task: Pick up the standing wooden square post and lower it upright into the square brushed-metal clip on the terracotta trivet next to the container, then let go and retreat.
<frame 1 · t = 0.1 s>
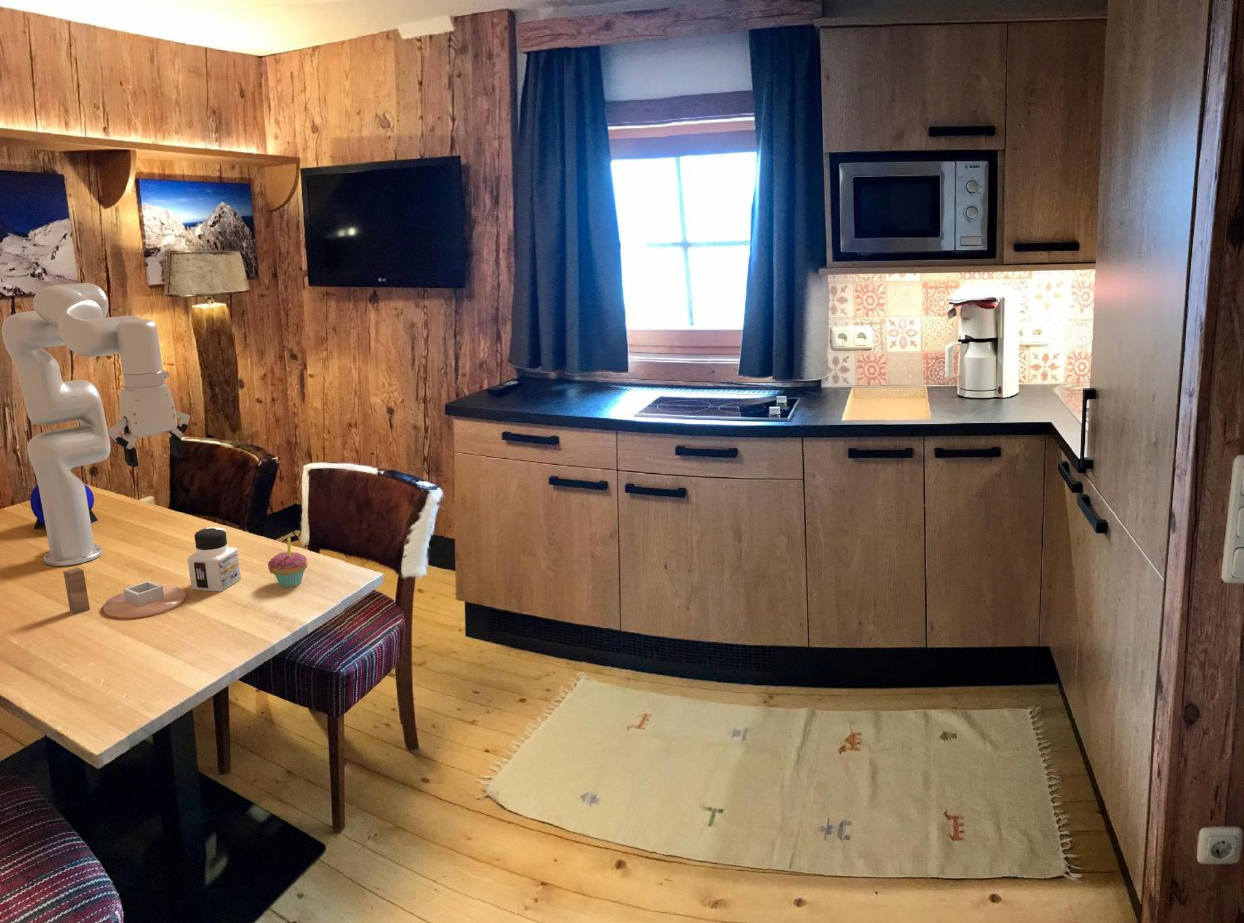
hand: (155, 461, 207), 31 cm above the table, tool pointing down, fingers open, 9 cm apart
clip base: (145, 603, 213), on the table
wooden square post: (80, 610, 209), on the table
container: (216, 585, 223), on the table
alarm clock: (68, 524, 266), on the table
cupcake: (289, 583, 223), on the table
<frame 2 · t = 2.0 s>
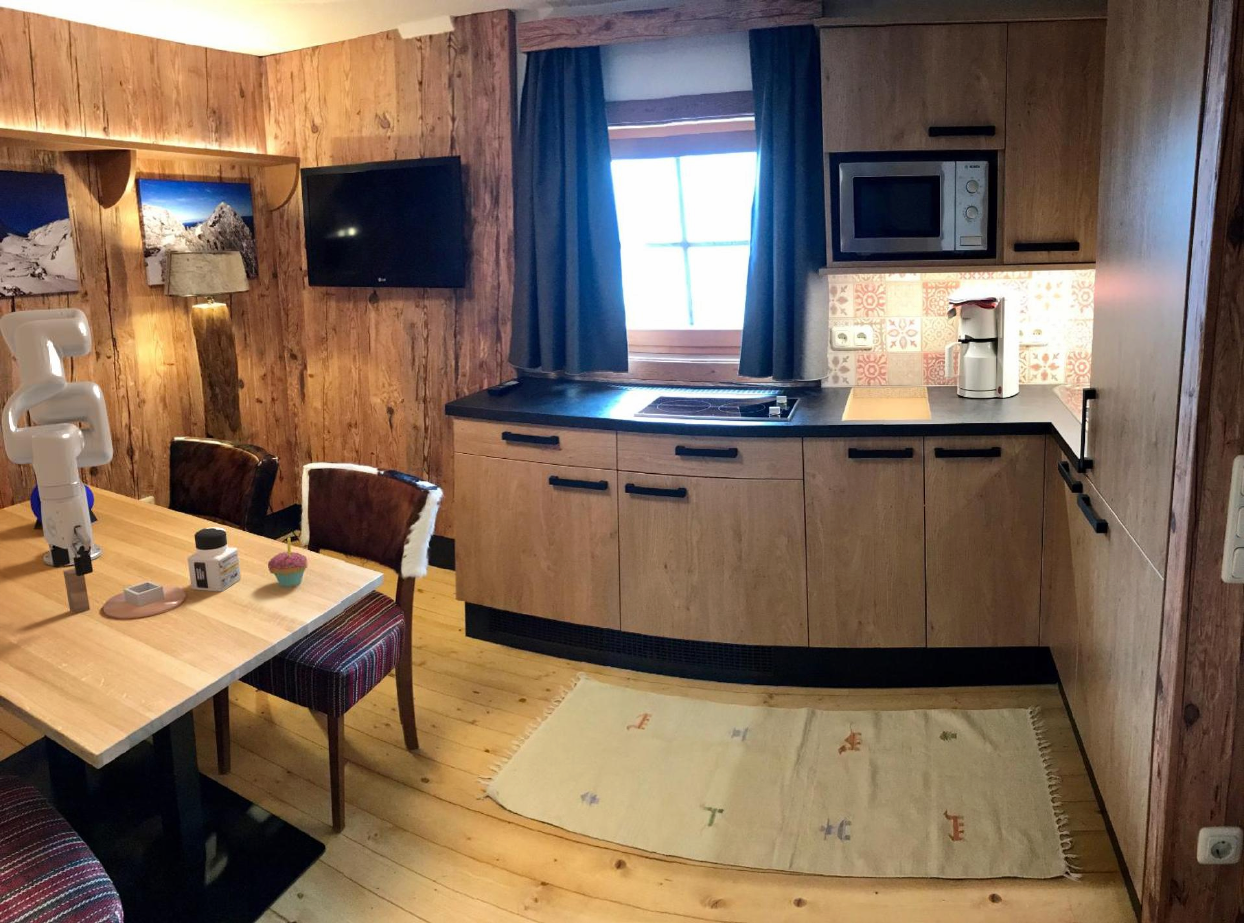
hand: (73, 569, 206), 9 cm above the table, tool pointing down, fingers open, 9 cm apart
nothing on the table moved.
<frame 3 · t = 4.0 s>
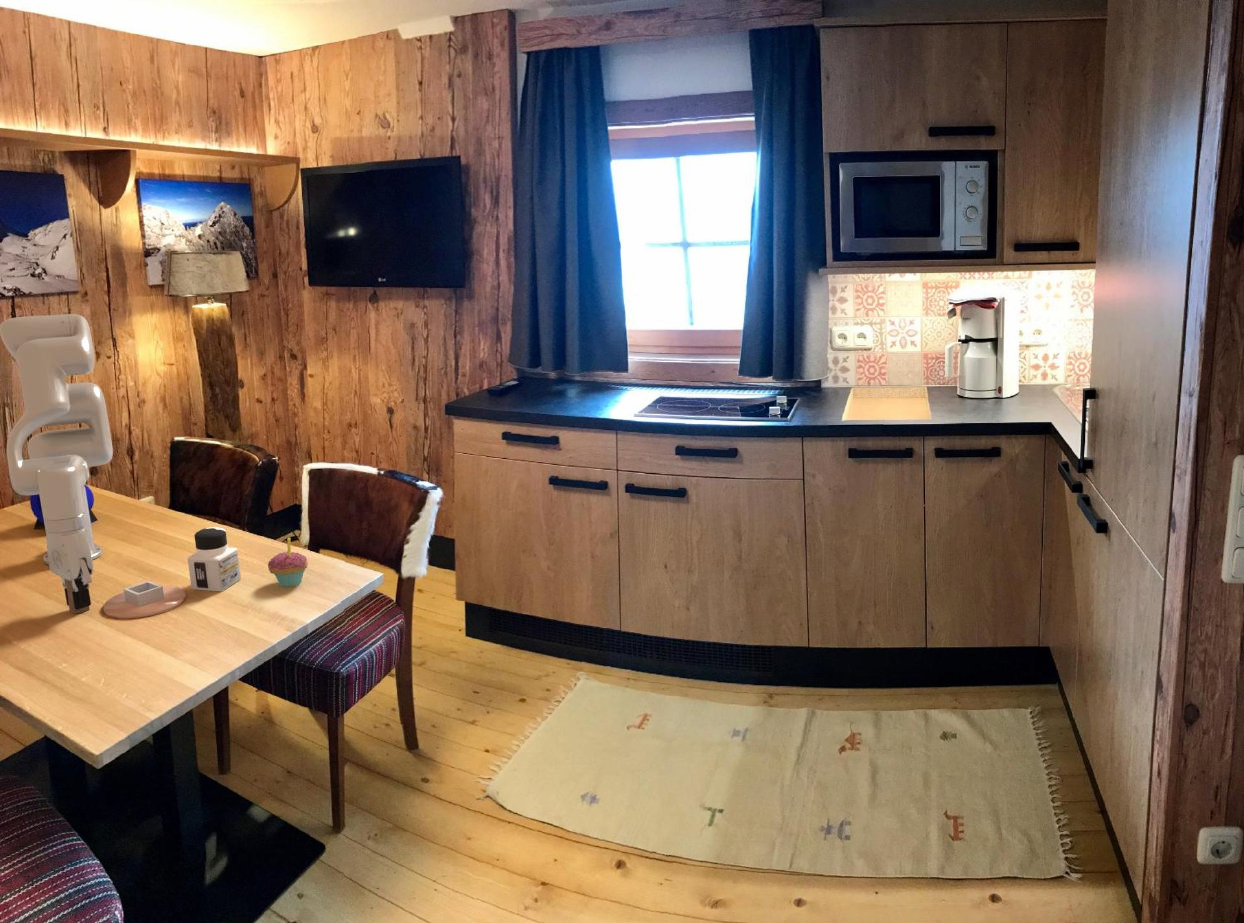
hand: (79, 604, 209), 1 cm above the table, tool pointing down, fingers closed on wooden square post, 2 cm apart
wooden square post: (79, 610, 209), on the table, touching gripper
everything else where it was.
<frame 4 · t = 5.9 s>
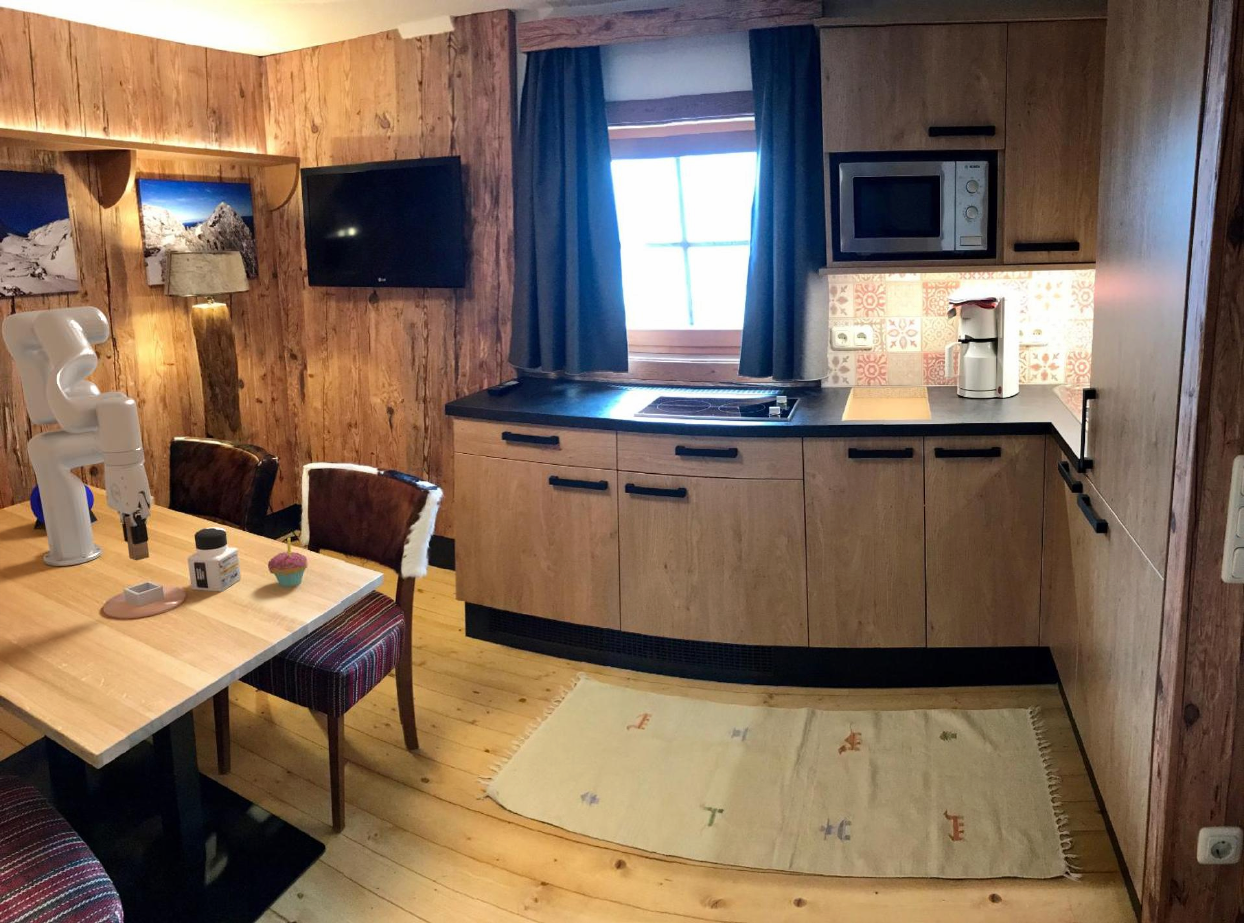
hand: (136, 540, 209), 14 cm above the table, tool pointing down, fingers closed on wooden square post, 2 cm apart
wooden square post: (139, 557, 210), point 11 cm above the table, touching gripper
everything else where it was.
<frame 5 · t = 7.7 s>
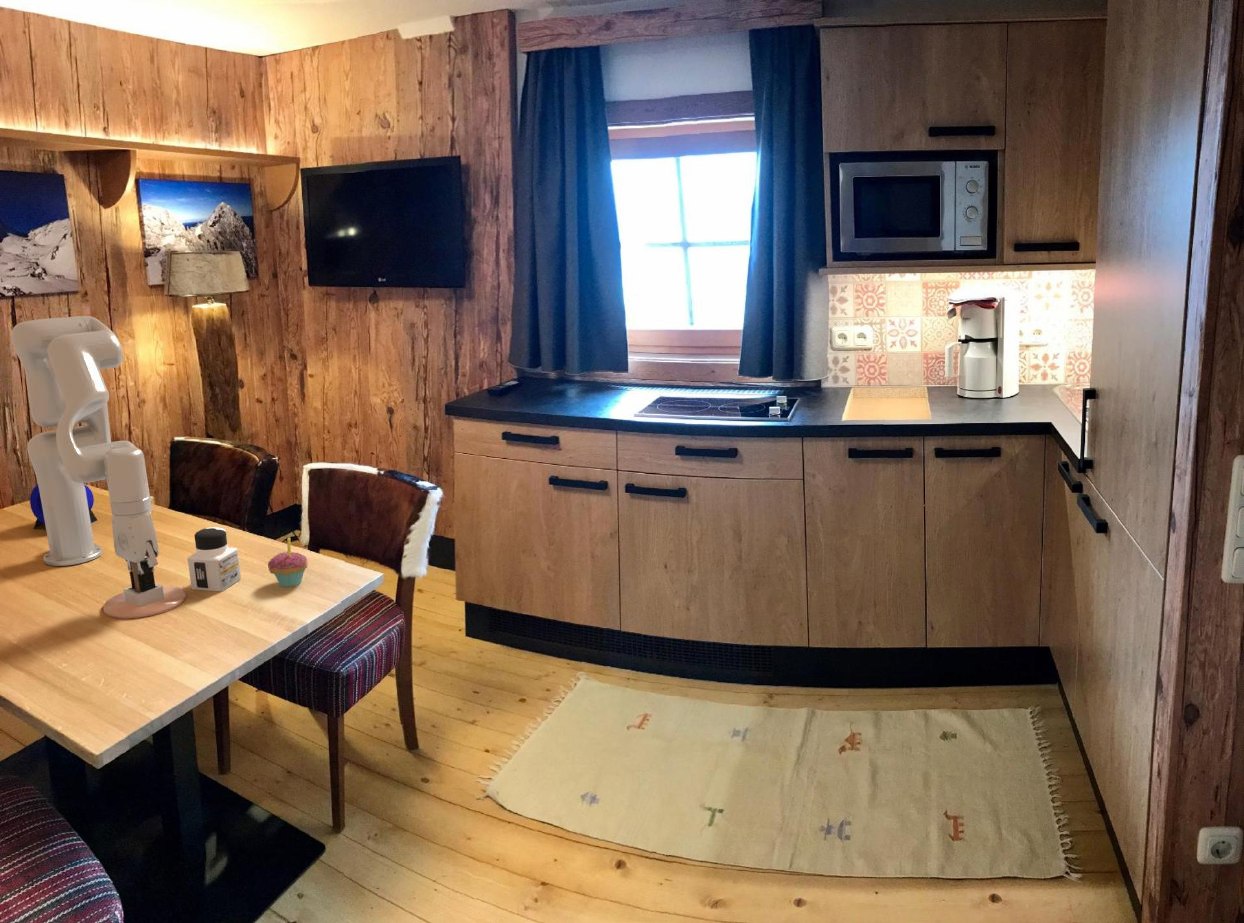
hand: (143, 587, 211), 4 cm above the table, tool pointing down, fingers closed on wooden square post, 2 cm apart
wooden square post: (146, 600, 212), point 1 cm above the table, touching clip base, gripper
everything else where it was.
when the fingers open (4 cm above the table, at t = 8.1 s): wooden square post stays where it is, resting on clip base.
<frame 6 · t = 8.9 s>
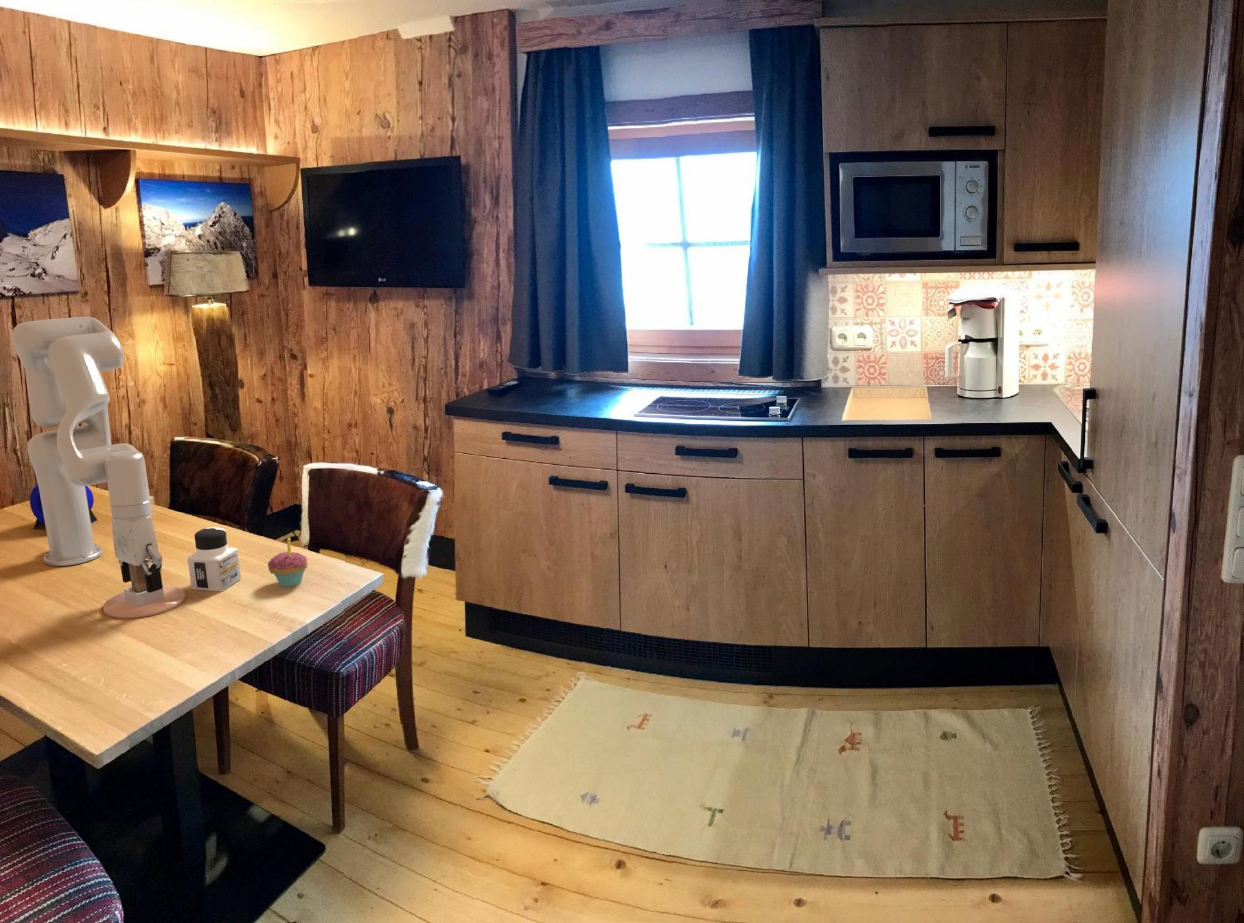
hand: (142, 585, 212), 4 cm above the table, tool pointing down, fingers open, 9 cm apart
wooden square post: (143, 600, 212), point 1 cm above the table, touching clip base
everything else where it was.
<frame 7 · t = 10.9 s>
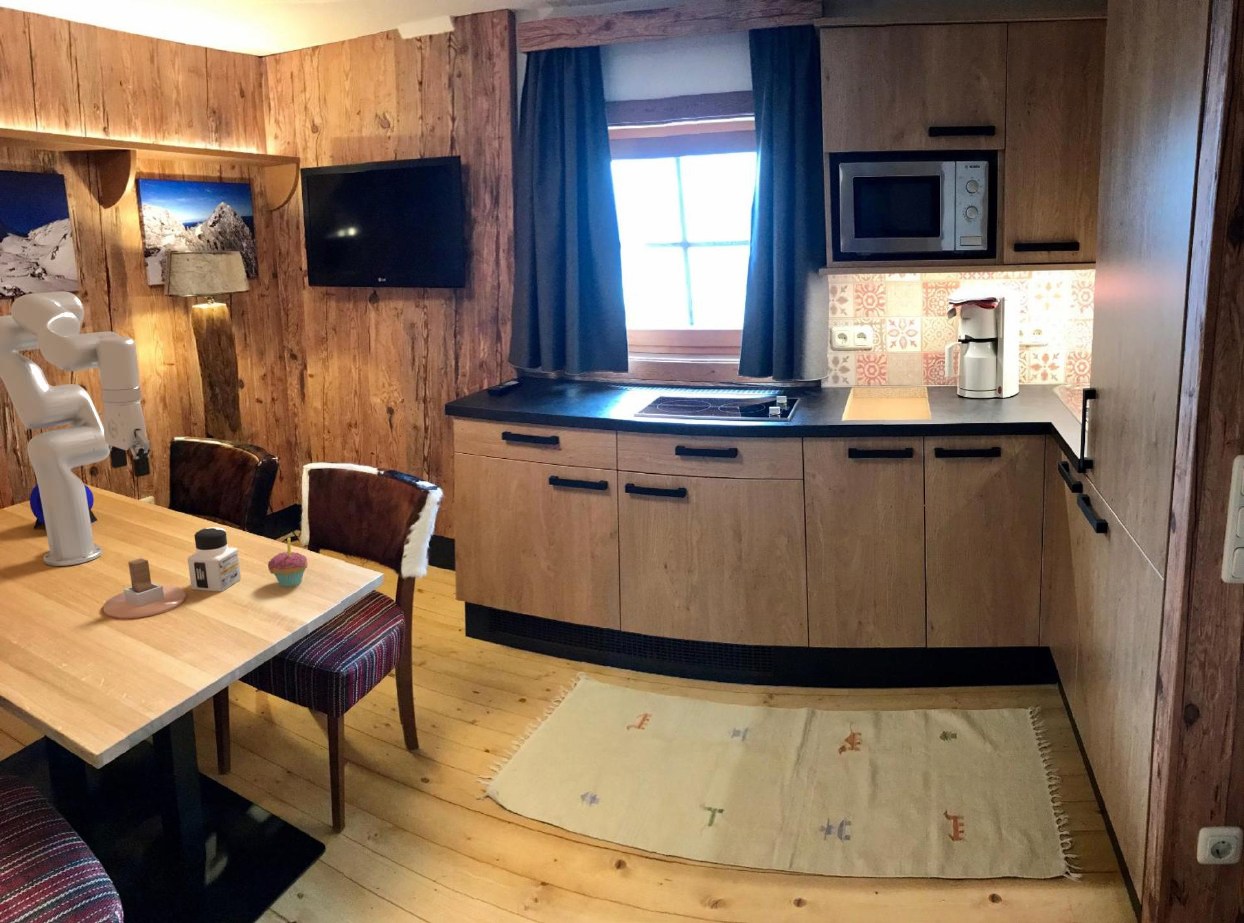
hand: (131, 471, 217), 27 cm above the table, tool pointing down, fingers open, 9 cm apart
nothing on the table moved.
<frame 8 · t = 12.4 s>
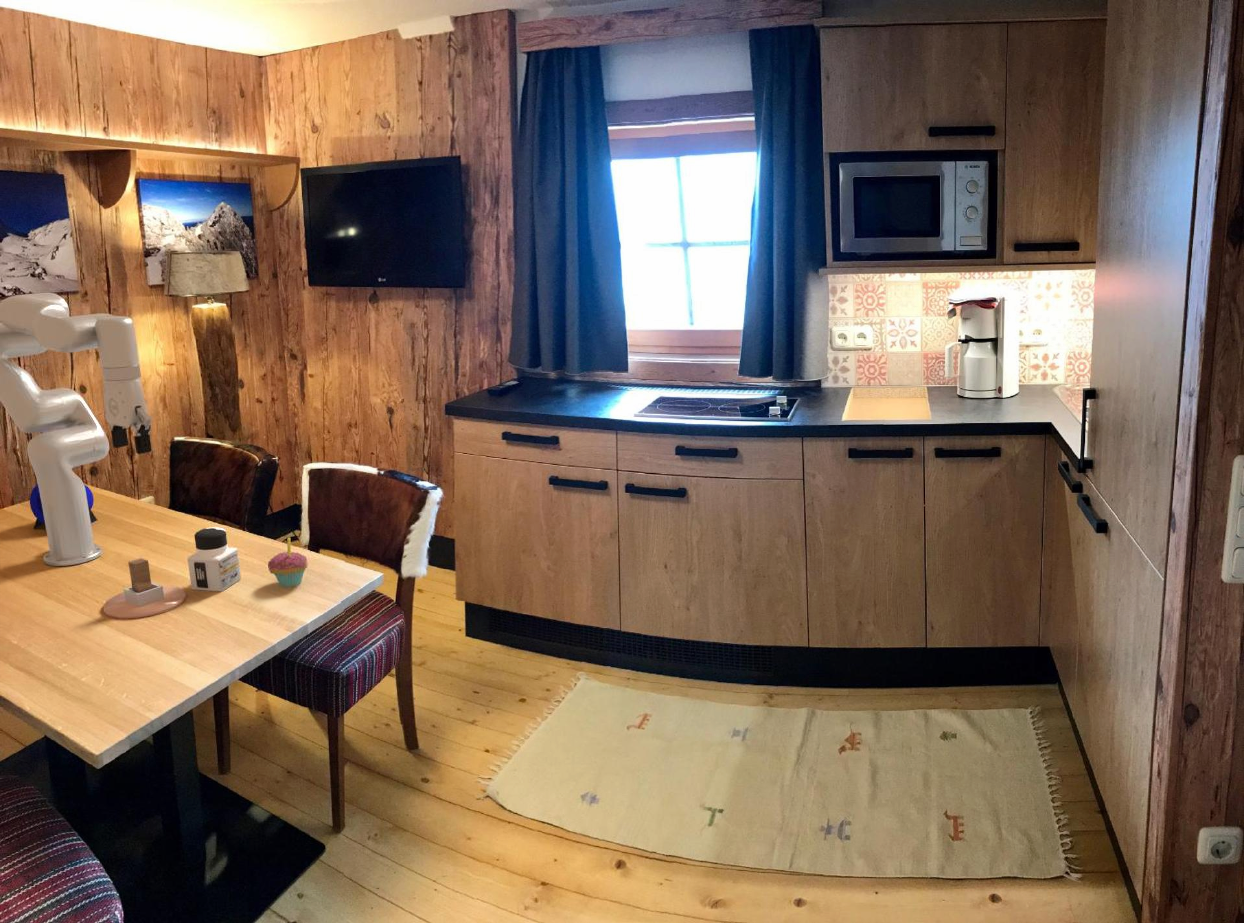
hand: (132, 449, 220), 30 cm above the table, tool pointing down, fingers open, 9 cm apart
nothing on the table moved.
at the end: wooden square post 0.4 cm off-centre on the clip base, point 0.8 cm above the clip base's base; wooden square post tilted 0°; the gripper is holding nothing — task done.
